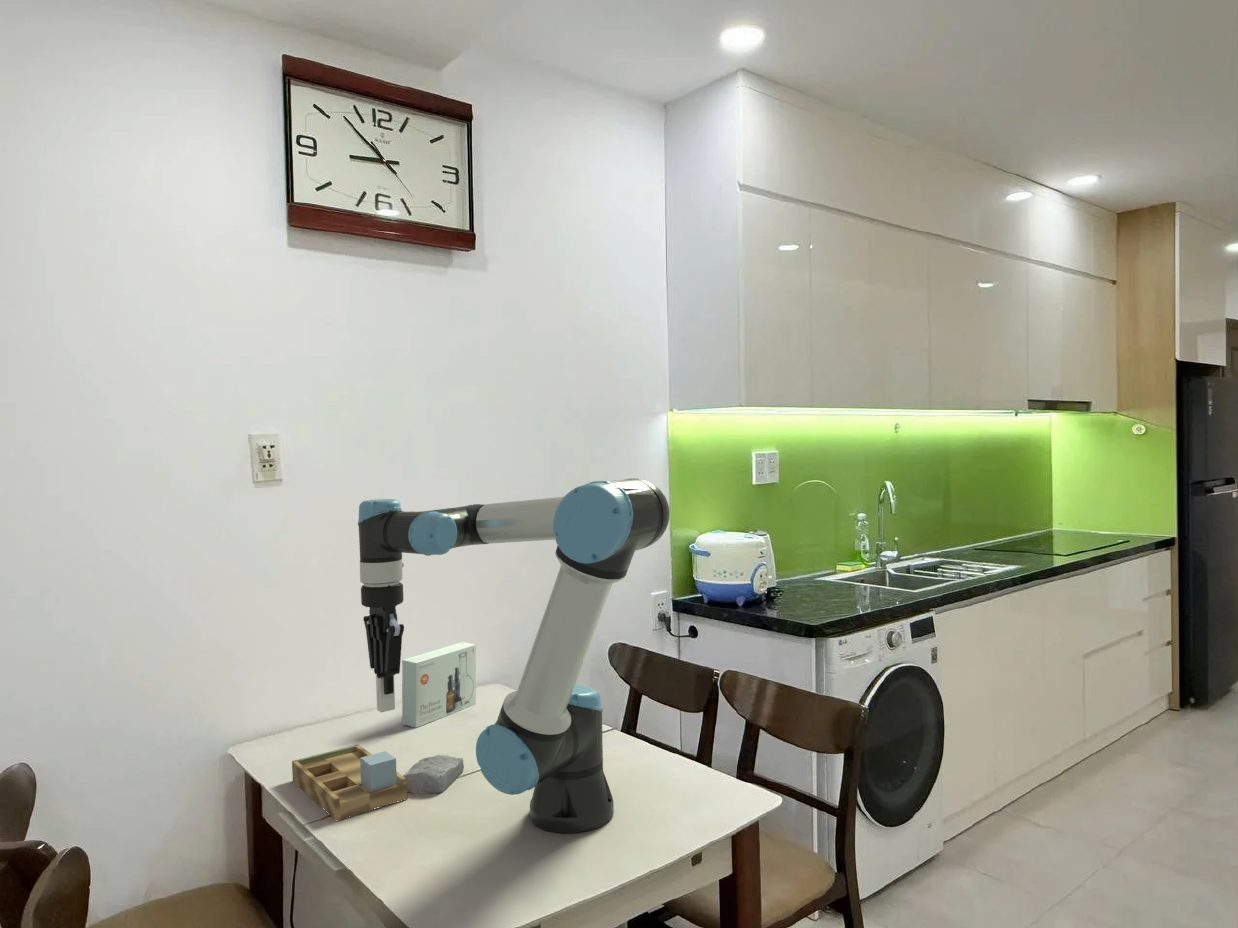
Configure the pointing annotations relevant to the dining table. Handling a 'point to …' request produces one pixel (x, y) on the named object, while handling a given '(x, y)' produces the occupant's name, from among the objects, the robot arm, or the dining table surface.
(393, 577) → the robot arm
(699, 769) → the dining table surface
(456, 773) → the stone block
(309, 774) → the trap box
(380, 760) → the block
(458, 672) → the skincare box
